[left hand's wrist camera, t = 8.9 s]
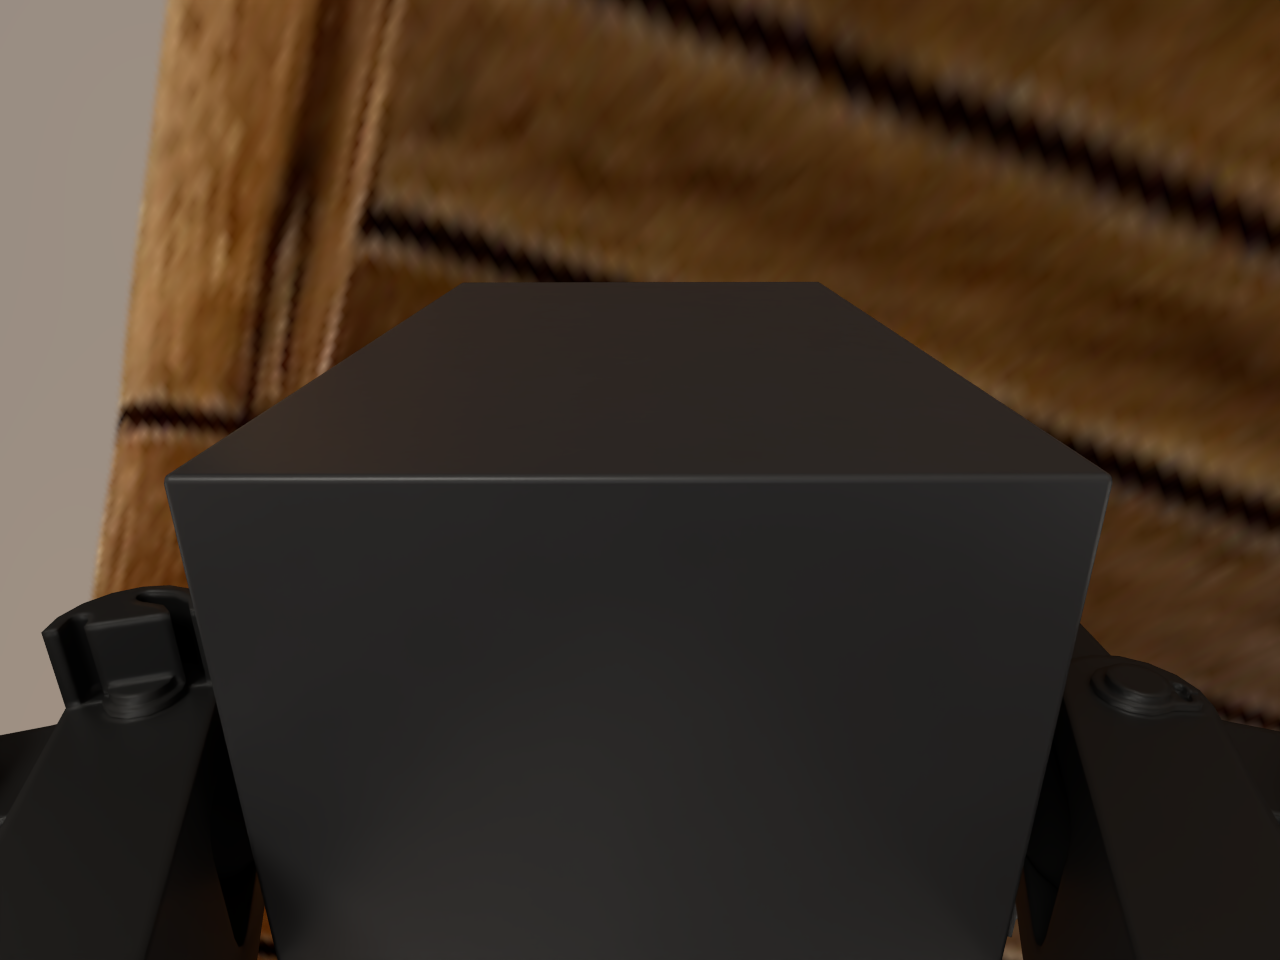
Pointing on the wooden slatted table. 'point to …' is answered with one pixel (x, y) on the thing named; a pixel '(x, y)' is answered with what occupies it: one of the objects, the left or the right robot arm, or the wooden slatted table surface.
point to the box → (639, 632)
